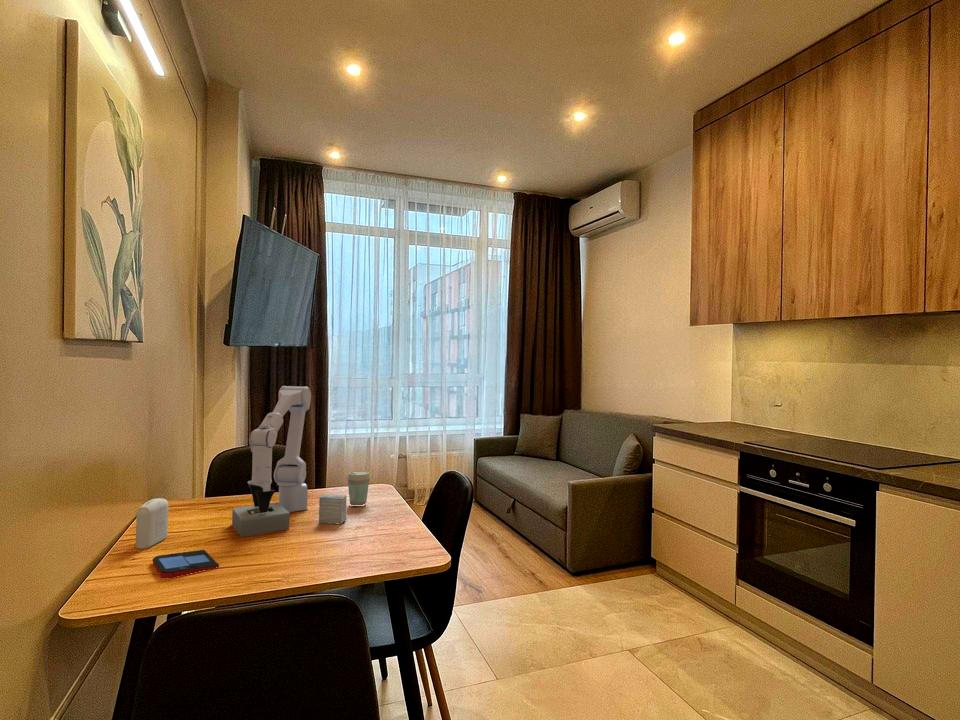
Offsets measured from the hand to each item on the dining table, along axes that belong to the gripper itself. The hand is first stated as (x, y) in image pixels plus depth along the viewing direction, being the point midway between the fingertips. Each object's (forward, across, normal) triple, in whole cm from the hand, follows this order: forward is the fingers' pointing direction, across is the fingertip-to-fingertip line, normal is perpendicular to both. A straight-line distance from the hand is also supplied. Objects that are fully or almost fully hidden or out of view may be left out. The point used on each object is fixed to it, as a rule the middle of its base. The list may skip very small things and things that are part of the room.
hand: (260, 509), depth 162 cm
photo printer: (+6, -1, -29) cm, 30 cm away
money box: (+6, 0, 0) cm, 6 cm away
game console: (+6, +22, -23) cm, 32 cm away
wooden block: (+6, 0, 0) cm, 6 cm away
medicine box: (+6, +7, +21) cm, 23 cm away
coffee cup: (+6, -8, +36) cm, 37 cm away
